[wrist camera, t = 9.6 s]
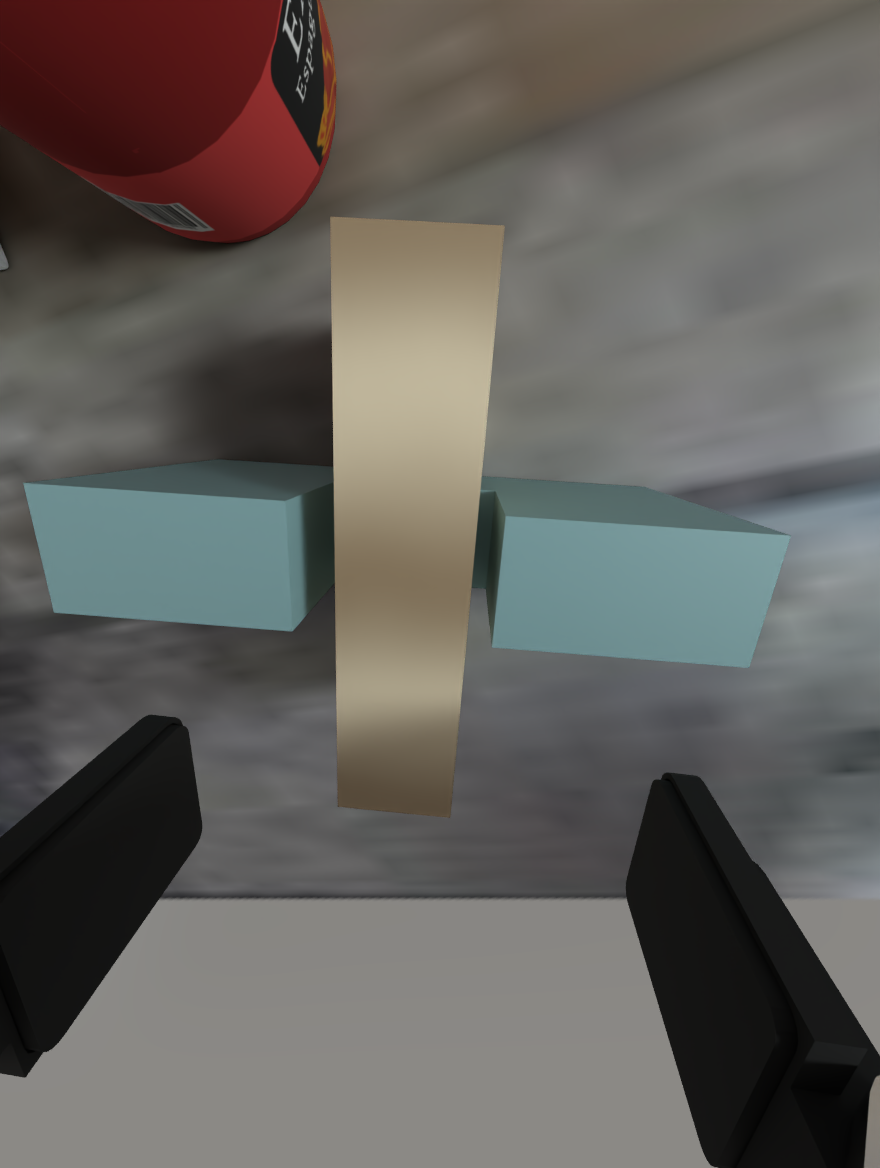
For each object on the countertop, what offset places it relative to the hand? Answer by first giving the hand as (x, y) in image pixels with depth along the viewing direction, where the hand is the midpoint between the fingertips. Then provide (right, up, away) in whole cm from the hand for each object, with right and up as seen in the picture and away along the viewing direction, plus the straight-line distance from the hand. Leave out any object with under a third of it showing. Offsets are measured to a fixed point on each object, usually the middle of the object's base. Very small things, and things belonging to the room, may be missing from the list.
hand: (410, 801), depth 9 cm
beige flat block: (0, +7, +8) cm, 11 cm away
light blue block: (0, +7, +8) cm, 11 cm away
